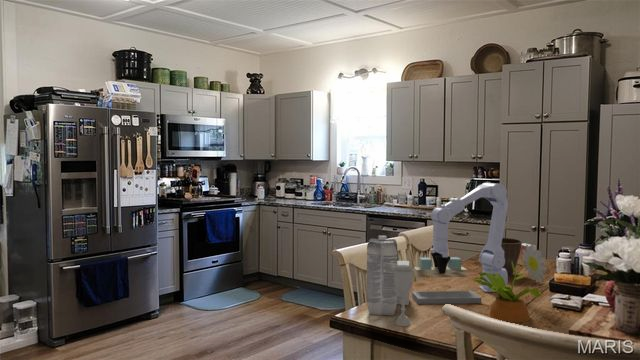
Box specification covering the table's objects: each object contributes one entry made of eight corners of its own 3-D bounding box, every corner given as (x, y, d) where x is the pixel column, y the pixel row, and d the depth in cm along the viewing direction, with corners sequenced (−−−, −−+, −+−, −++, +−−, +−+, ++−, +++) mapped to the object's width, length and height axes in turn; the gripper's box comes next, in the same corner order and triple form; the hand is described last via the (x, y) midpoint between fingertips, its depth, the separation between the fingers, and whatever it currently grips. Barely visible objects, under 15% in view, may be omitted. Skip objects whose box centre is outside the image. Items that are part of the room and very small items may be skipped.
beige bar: (462, 274, 202) (462, 266, 202) (466, 277, 197) (466, 269, 197) (413, 274, 202) (413, 267, 201) (416, 277, 197) (416, 269, 196)
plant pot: (528, 275, 230) (528, 241, 230) (508, 279, 222) (508, 244, 221) (500, 269, 243) (500, 236, 242) (480, 273, 234) (480, 239, 234)
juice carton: (396, 317, 171) (397, 238, 170) (366, 315, 173) (366, 238, 171) (397, 309, 180) (397, 234, 178) (368, 307, 181) (368, 234, 180)
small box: (515, 264, 255) (516, 243, 255) (525, 263, 257) (525, 243, 256) (526, 267, 247) (527, 246, 247) (536, 266, 249) (536, 245, 249)
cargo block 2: (457, 267, 201) (457, 257, 201) (461, 269, 197) (461, 259, 197) (448, 267, 201) (448, 257, 201) (451, 269, 197) (451, 259, 197)
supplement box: (409, 305, 184) (409, 265, 183) (384, 304, 186) (384, 264, 185) (409, 298, 193) (410, 260, 192) (386, 297, 195) (386, 259, 194)
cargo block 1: (428, 267, 201) (428, 257, 201) (431, 269, 197) (431, 259, 197) (418, 267, 201) (419, 257, 201) (421, 269, 197) (421, 259, 197)
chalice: (390, 320, 168) (390, 267, 167) (410, 319, 168) (410, 266, 167) (395, 327, 160) (395, 272, 160) (416, 327, 161) (416, 271, 160)
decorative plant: (561, 325, 162) (563, 249, 161) (494, 331, 157) (495, 252, 156) (512, 302, 188) (513, 236, 187) (454, 306, 183) (454, 238, 182)
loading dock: (472, 295, 197) (472, 290, 197) (481, 303, 187) (481, 297, 187) (411, 296, 196) (412, 291, 196) (417, 303, 186) (417, 298, 186)
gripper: (426, 235, 206) (425, 267, 206) (435, 241, 191) (434, 276, 192) (442, 235, 206) (442, 267, 207) (453, 241, 192) (453, 276, 192)
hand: (440, 271), depth 199 cm, fingers closed on beige bar, 5 cm apart
